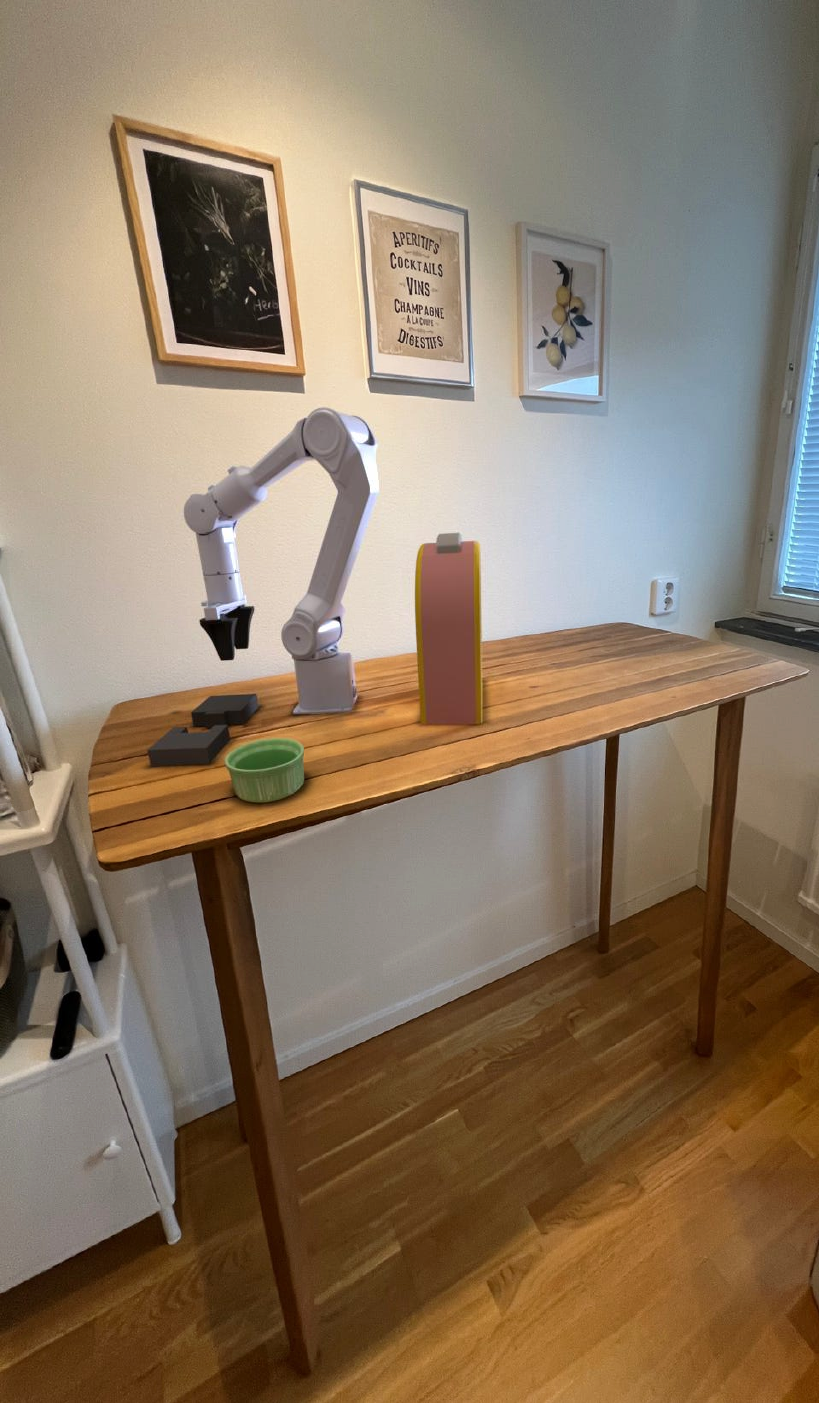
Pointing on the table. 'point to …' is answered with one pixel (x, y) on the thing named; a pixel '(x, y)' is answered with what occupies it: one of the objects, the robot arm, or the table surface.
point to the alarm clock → (449, 630)
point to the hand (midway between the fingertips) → (235, 654)
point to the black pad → (225, 710)
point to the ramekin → (266, 769)
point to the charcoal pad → (188, 746)
